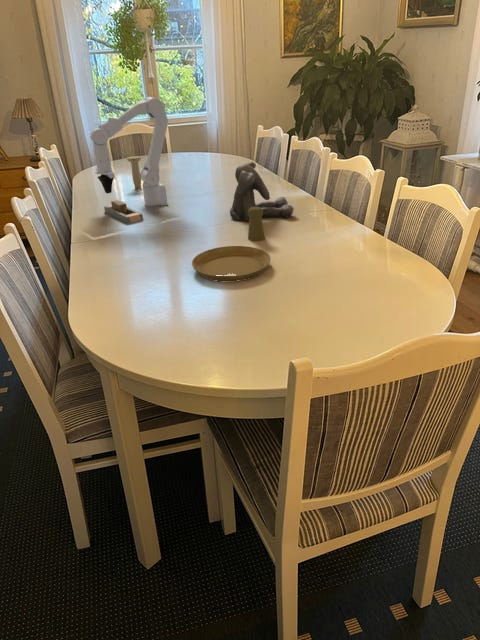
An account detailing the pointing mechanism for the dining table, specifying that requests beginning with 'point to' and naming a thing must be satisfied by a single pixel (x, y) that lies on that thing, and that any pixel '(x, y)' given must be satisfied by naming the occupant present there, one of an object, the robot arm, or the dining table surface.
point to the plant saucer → (231, 263)
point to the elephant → (246, 199)
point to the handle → (135, 170)
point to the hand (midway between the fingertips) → (108, 192)
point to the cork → (255, 224)
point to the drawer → (119, 206)
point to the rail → (130, 218)
